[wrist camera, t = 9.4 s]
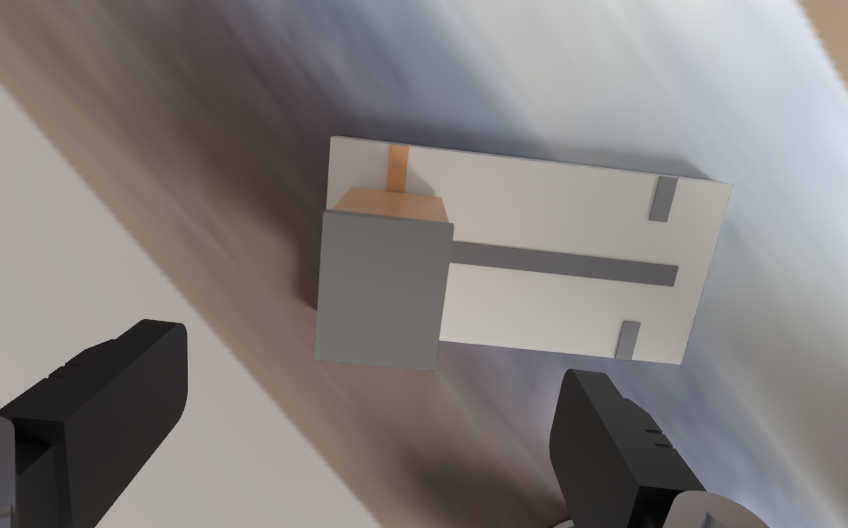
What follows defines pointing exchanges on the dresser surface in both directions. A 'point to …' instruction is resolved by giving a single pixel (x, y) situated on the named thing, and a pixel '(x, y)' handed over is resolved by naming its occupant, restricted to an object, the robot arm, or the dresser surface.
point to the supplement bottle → (565, 524)
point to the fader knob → (383, 279)
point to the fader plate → (555, 246)
